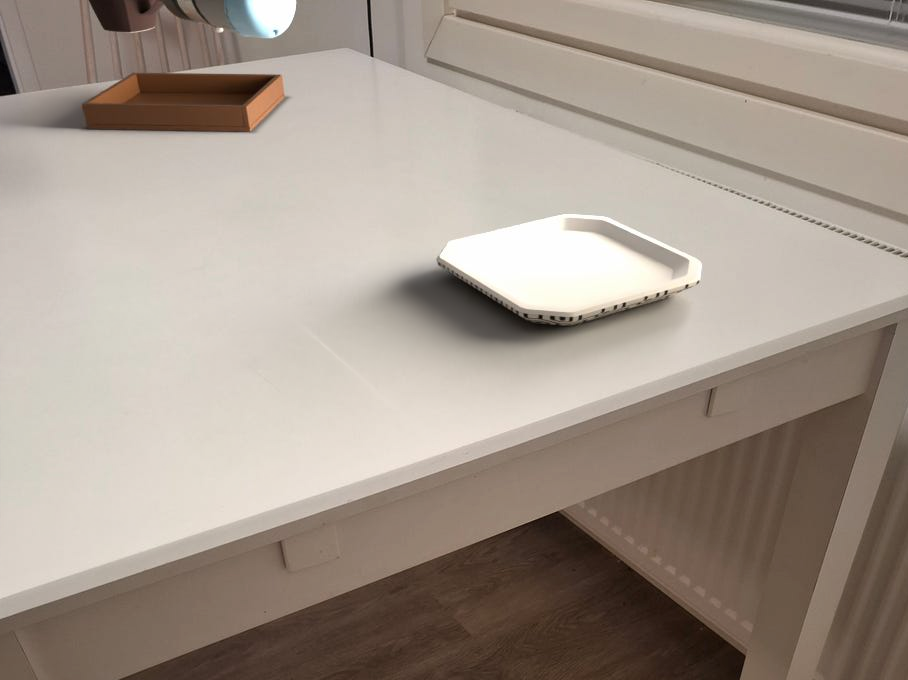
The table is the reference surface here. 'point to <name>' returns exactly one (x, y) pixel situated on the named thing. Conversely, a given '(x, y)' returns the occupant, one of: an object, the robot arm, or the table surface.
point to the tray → (185, 102)
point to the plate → (570, 268)
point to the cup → (126, 14)
